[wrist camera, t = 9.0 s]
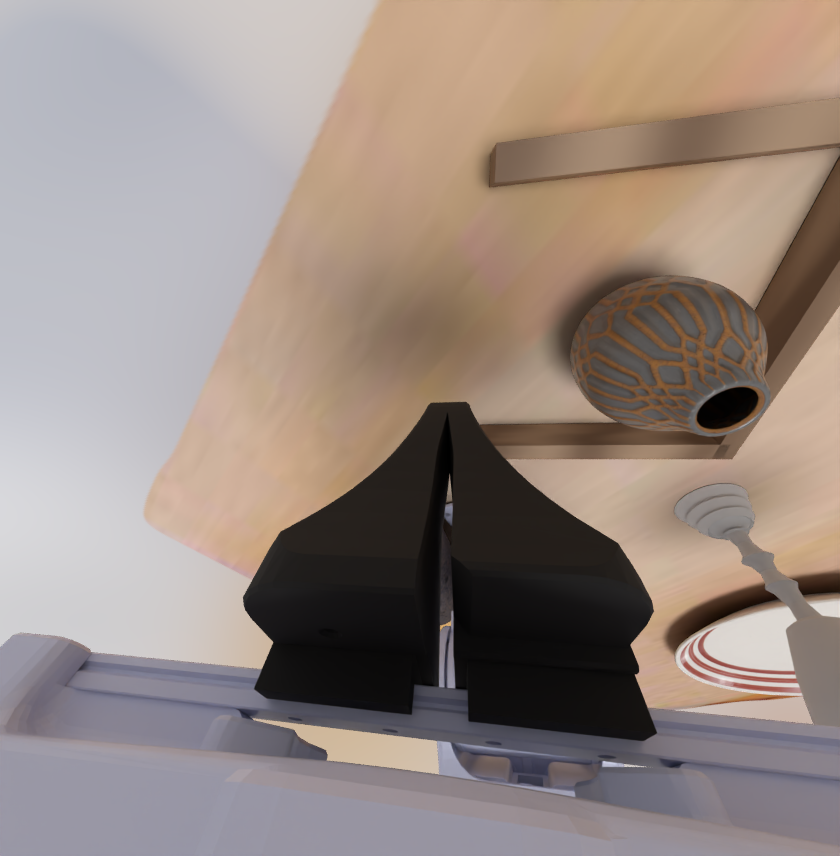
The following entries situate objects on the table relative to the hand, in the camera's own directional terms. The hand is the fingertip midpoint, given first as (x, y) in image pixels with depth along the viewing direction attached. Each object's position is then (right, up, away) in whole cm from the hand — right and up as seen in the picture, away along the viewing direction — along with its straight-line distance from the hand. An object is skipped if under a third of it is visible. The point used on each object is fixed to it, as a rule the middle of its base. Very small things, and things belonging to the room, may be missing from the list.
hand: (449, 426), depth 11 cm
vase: (+11, +6, +7) cm, 14 cm away
